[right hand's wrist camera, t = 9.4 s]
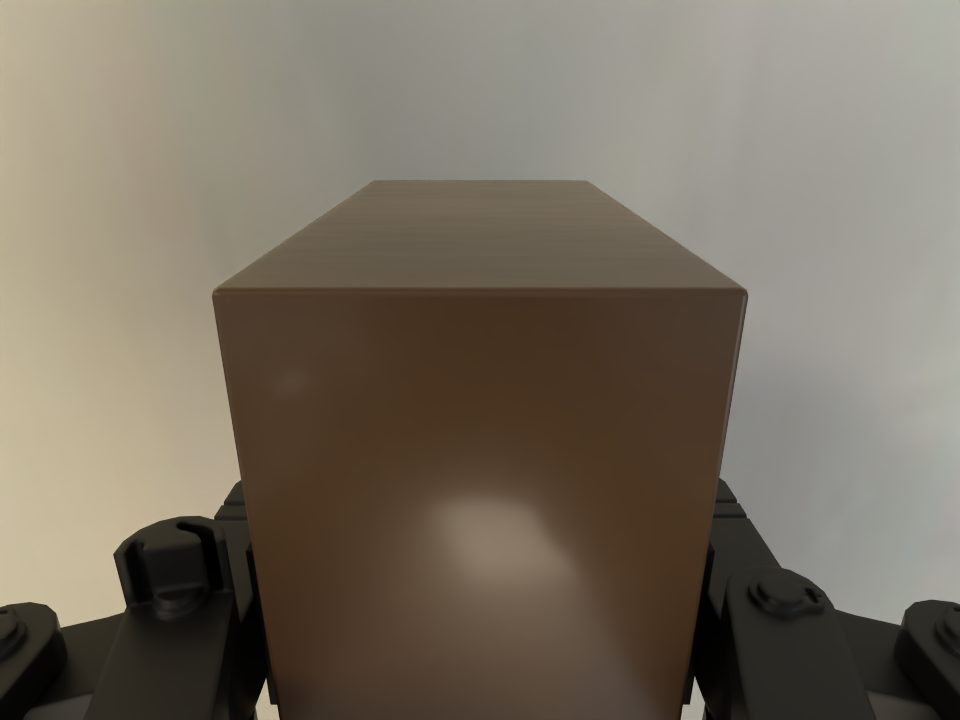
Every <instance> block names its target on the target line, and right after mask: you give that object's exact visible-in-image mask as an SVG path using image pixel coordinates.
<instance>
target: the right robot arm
mask: <svg viewBox="0 0 960 720" xmlns="http://www.w3.org/2000/svg"><path fill="white" fill-rule="evenodd" d="M113 555H114V559H115V563H116V567H117V571H118V575H119V578H120V582H121V586H122V590H123V594H124V598H125V602H126V606H127V607H126V610H125V612H124V613H121V614H117V615H114V616H110V617H107V618H103V619H98V620H94V621H89V622H85V623H81V624H76V625H72V626H67V627H63V628H61V627H60V624H59V621H58V618H57V615H56V613H55V612H54V611H53V610H52V609H51V608H49V607H48V606H47V605H43V604H38V603H32V602H27V603H19V604H11V605H6V606H3V607H0V720H258V719H257V713H256V707H255V706H256V703H257V701H258V698H259V695H260V693H261V690H262V687H263V685H264V682H265V679H267V685H268V691H269V697H270V703H271V705H277V699H276V693H275V687H274V681H273V674H272V668H271V662H270V656H269V649H268V643H267V637H266V631H265V624H264V618H263V612H262V606H261V599H260V593H259V587H258V581H257V574H256V568H255V562H254V556H253V549H252V543H251V537H250V531H249V524H248V518H247V512H246V506H245V499H244V493H243V487H242V481H241V480H240V481H239V482H238V483H236V484H235V486H234V487H233V489H232V490H231V492H230V493H229V495H228V496H227V498H226V500H225V501H224V505H222V506H221V507H220V509H219V510H218V512H217V513H216V515H215V516H214V520H213V519H209V518H205V517H201V516H180V517H176V518H171V519H167V520H163V521H159V522H157V523H154V524H152V525H150V526H147V527H145V528H143V529H140V530H139V531H137V532H136V533H134V534H133V535H132V536H130V537H129V538H127V539H126V540H124V541H123V542H122V544H121V545H120V546H119V548H118V549H117V550H116V551H115V553H114V554H113ZM694 676H695V678H696V680H697V683H698V686H699V688H700V691H701V694H702V696H703V699H704V702H705V707H704V713H703V718H702V720H960V604H957V603H954V602H947V601H939V600H926V601H921V602H915V603H914V604H912V605H911V606H910V607H909V608H908V609H907V610H905V613H904V617H903V620H902V623H901V626H900V625H896V624H892V623H887V622H883V621H878V620H874V619H869V618H865V617H861V616H856V615H852V614H849V613H845V612H842V611H839V610H836V609H834V606H833V604H832V603H831V601H830V600H829V598H828V597H827V595H826V594H825V592H824V591H823V590H821V589H820V588H819V587H818V586H816V585H815V584H814V583H813V582H811V581H810V580H809V579H807V578H805V577H803V576H801V575H799V574H797V573H795V572H793V571H791V570H787V569H784V568H781V566H780V565H779V563H778V562H777V560H776V559H775V557H774V556H773V554H772V553H771V551H770V550H769V548H768V547H767V545H766V543H765V542H764V540H763V539H762V537H761V536H760V534H759V533H758V531H757V530H756V528H755V527H754V525H753V524H752V522H751V521H750V519H749V518H747V514H746V513H745V511H744V510H743V508H742V507H741V505H740V504H739V503H737V499H736V498H735V496H734V495H733V493H732V492H731V490H730V489H729V487H728V485H727V484H726V482H725V481H723V480H722V479H720V478H719V482H718V488H717V494H716V501H715V507H714V513H713V519H712V526H711V532H710V538H709V544H708V551H707V557H706V563H705V569H704V576H703V582H702V588H701V594H700V601H699V607H698V613H697V619H696V625H695V632H694V638H693V644H692V650H691V657H690V663H689V669H688V675H687V682H686V688H685V694H684V700H683V705H690V700H691V694H692V688H693V682H694Z"/></svg>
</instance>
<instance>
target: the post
mask: <svg viewBox="0 0 960 720" xmlns="http://www.w3.org/2000/svg"><path fill="white" fill-rule="evenodd" d="M212 299H213V306H214V312H215V318H216V324H217V331H218V337H219V343H220V349H221V356H222V362H223V368H224V374H225V381H226V387H227V393H228V399H229V406H230V412H231V418H232V424H233V431H234V437H235V443H236V449H237V456H238V462H239V468H240V474H241V481H242V487H243V493H244V499H245V506H246V512H247V518H248V524H249V531H250V537H251V543H252V549H253V556H254V562H255V568H256V574H257V581H258V587H259V593H260V599H261V606H262V612H263V618H264V624H265V631H266V637H267V643H268V649H269V656H270V662H271V668H272V674H273V681H274V687H275V693H276V699H277V706H278V712H279V718H280V720H680V719H681V713H682V707H683V700H684V694H685V688H686V682H687V675H688V669H689V663H690V657H691V650H692V644H693V638H694V632H695V625H696V619H697V613H698V607H699V601H700V594H701V588H702V582H703V576H704V569H705V563H706V557H707V551H708V544H709V538H710V532H711V526H712V519H713V513H714V507H715V501H716V494H717V488H718V482H719V476H720V469H721V463H722V457H723V451H724V444H725V438H726V432H727V426H728V419H729V413H730V407H731V401H732V394H733V388H734V382H735V376H736V369H737V363H738V357H739V351H740V344H741V338H742V332H743V326H744V319H745V313H746V307H747V301H748V293H747V290H746V289H745V288H744V287H742V286H741V285H739V284H738V283H736V282H735V281H733V280H732V279H730V278H729V277H727V276H726V275H724V274H723V273H722V272H720V271H719V270H717V269H716V268H714V267H713V266H711V265H710V264H708V263H707V262H705V261H704V260H703V259H701V258H700V257H698V256H697V255H695V254H694V253H692V252H691V251H689V250H688V249H686V248H685V247H683V246H682V245H681V244H679V243H678V242H676V241H675V240H673V239H672V238H670V237H669V236H667V235H666V234H664V233H663V232H661V231H660V230H659V229H657V228H656V227H654V226H653V225H651V224H650V223H648V222H647V221H645V220H644V219H642V218H641V217H639V216H638V215H637V214H635V213H634V212H632V211H631V210H629V209H628V208H626V207H625V206H623V205H622V204H620V203H619V202H618V201H616V200H615V199H613V198H612V197H610V196H609V195H607V194H606V193H604V192H603V191H601V190H600V189H598V188H597V187H596V186H594V185H593V184H591V183H590V182H588V181H586V180H375V181H373V182H371V183H370V184H368V185H367V186H365V187H364V188H362V189H361V190H359V191H358V192H356V193H355V194H353V195H352V196H351V197H349V198H348V199H346V200H345V201H343V202H342V203H340V204H339V205H337V206H336V207H334V208H333V209H331V210H330V211H328V212H327V213H325V214H324V215H323V216H321V217H320V218H318V219H317V220H315V221H314V222H312V223H311V224H309V225H308V226H306V227H305V228H303V229H302V230H300V231H299V232H297V233H296V234H295V235H293V236H292V237H290V238H289V239H287V240H286V241H284V242H283V243H281V244H280V245H278V246H277V247H275V248H274V249H272V250H271V251H270V252H268V253H267V254H265V255H264V256H262V257H261V258H259V259H258V260H256V261H255V262H253V263H252V264H250V265H249V266H247V267H246V268H244V269H243V270H242V271H240V272H239V273H237V274H236V275H234V276H233V277H231V278H230V279H228V280H227V281H225V282H224V283H222V284H221V285H219V286H218V287H216V288H215V289H214V290H213V294H212Z"/></svg>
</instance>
